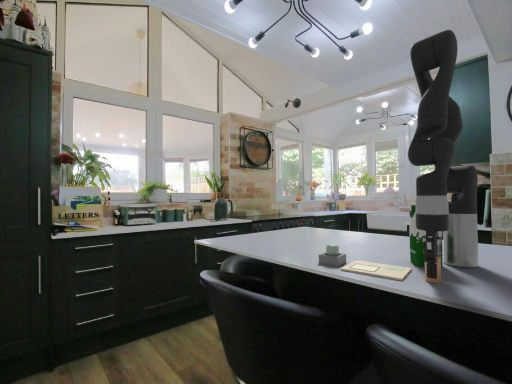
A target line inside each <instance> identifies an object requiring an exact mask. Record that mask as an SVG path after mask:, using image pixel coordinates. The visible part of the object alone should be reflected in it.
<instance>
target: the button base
mask: <svg viewBox="0 0 512 384" xmlns="http://www.w3.org/2000/svg"><path fill="white" fill-rule="evenodd" d="M346 263H347V253H344V252H342V253H341V252H339V256H330V255H326V251H325V252H322V253H319V254H318V264H321V265H327V266H335V267H340V266H342V265H344V264H346Z"/></svg>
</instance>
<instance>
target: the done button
mask: <svg viewBox="0 0 512 384" xmlns="http://www.w3.org/2000/svg"><path fill="white" fill-rule="evenodd" d="M339 248H340V247H339V245H338V244H326V245H325V252H326V255H330V256H339V253H340V249H339Z"/></svg>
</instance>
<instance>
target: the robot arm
mask: <svg viewBox="0 0 512 384" xmlns="http://www.w3.org/2000/svg"><path fill="white" fill-rule="evenodd" d="M409 55H410V62H411V65H412V69H413V73H414V77H415V80H416V83H417V87H418V89H419V94H420V96H421V97H420V98H421V99H420V102H419V104H418V109H417V118H416V119H417V120H416V121H417V124H416V128H415V131H414V134H413V137H412V140H411V141H410V144H409V147H408V150H407V157H408V158H407V159H408V161H409V162H410V163H411V164H412V166H415V167H425V166H426V167H427V166H434V169H433V170H432V171H431V172H428V173H427V172H426V173H423V174H421V175H420V174H419V175H418V176H416V179H415V190H416V191H415V193H416V198H415V204H414V205H415V208H416V228H417V229H418V230H424V231H426V236H424V237H423V245H424V258H425V259H424V261H425V262H426V263H427V277H428V278H433V279H436V278H437V263H438V261H437V256H438V255H439V253H440V251H441V242H442V248H443V263H444V264H446V265H449V266H453V267H459V268H478V267H479V242H478V241H479V238H478V233H479V232H478V182H479V180H478V178H479V177H478V171H477V168H476V167H475V166H474V165H471V164H470V165H469V164H467V165H465V164H464V165H456V166H455V165H454V166H451V165H452V162H453V158H454V155H455V151H456V149H455V143H456V142H457V140H458V138H459V137H460V135H461V133H462V130H463V127H464V126H463V119H462V113H461V107H460V106H459V104H458V103H457V102H456V100H454V99H453V98H452V97H451V96H450V91H451V87H452V82H453V79H454V73H455V69H456V68H455V67H456V63H457V58H458V40H457V37H456V34H455V33H454V31H453V30H451V29H446V30H443V31H440V32H437V33H435V34H432V35H430V36H428V37H425V38H424V39H421V40H418V41H416V42H414V43H412V45H411V47H410V54H409ZM436 69H438V71H437V74H436V75H435V77H434V79H433V77H432V75H431V73H430V72H431V71H432V70H436ZM448 194H462V196H461V197H460V198H459V199H457V200H455V201H453V202H449V200H448ZM438 231H442V238H441V237H438ZM428 255H432V256H433V258H428Z"/></svg>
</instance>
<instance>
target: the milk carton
mask: <svg viewBox="0 0 512 384" xmlns="http://www.w3.org/2000/svg"><path fill="white" fill-rule="evenodd" d="M410 209H411V210H408V221H409V222H408V223H409V225H408V227H409V257H410V262H411V263H412V264H413V265H416V266H417V267H422V268H425V261H424V259H425V258H424V245H423V237H424V236H426V231H424V230H418V229H417V228H416V208H415V204H411V205H410ZM438 237H441V238H442V239H443V231H438ZM441 268H443V241H442V242H441Z"/></svg>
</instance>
